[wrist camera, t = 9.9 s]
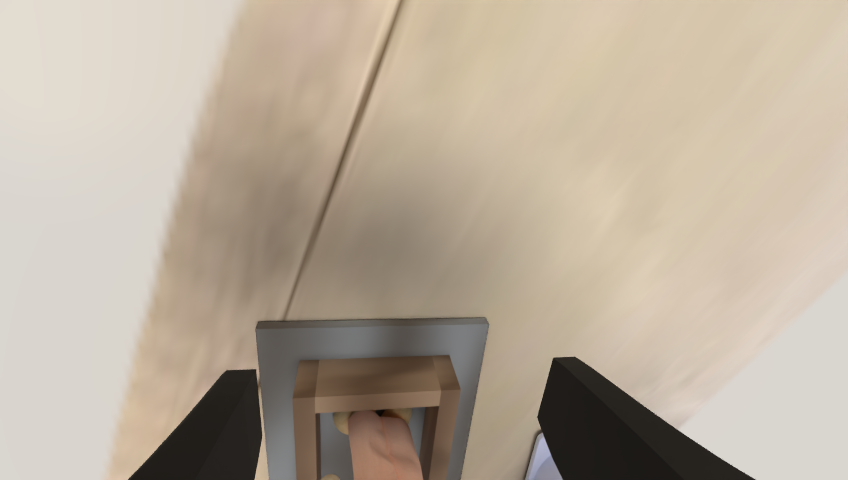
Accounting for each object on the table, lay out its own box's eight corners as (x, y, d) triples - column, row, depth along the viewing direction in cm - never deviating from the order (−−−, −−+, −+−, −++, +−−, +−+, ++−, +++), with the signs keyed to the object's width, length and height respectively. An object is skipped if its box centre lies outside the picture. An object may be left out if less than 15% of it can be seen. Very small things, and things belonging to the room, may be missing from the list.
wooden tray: (485, 317, 22) (505, 355, 19) (452, 505, 28) (463, 555, 25) (258, 321, 20) (241, 365, 17) (275, 524, 26) (265, 582, 23)
